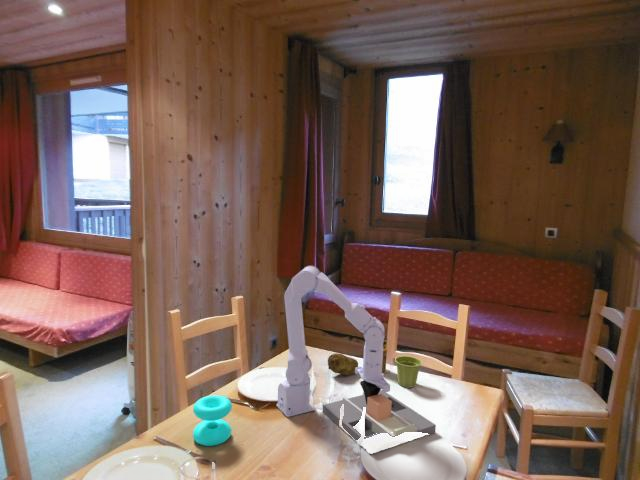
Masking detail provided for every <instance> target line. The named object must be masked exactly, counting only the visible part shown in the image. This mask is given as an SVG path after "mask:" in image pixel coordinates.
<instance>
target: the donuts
mask: <svg viewBox="0 0 640 480" xmlns="http://www.w3.org/2000/svg"><path fill="white" fill-rule="evenodd" d="M232 404H233V403H232V402H231V400H230V398H227V397H226V396H223V395H217V394H216V395H215V394H213V395H207V396H203V397H201V398H199V399H198V400H197V401H196V402H195V403H194V404H193V410H192V411H193V413H194V415H195V416H196V418H198V419H200V420H201V422H199V423H198V424H197V425H196V426H195V427H194V429H193V431H192V437H193V439H194V441H195V442H196V443H197V444H198V445H199V444H200V445H201V446H206V447H213V446H218V445H221V444H223V443H225V442H226V441H227V440H228V439H229V438H230V437H231V435H232V427H231V425H230V424H229V422H228V421H226V420H223V419H224V418H225V417H227V416H228V415H230V413H231V411H232V407H233V405H232Z"/></svg>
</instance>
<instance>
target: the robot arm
mask: <svg viewBox="0 0 640 480" xmlns="http://www.w3.org/2000/svg"><path fill="white" fill-rule="evenodd" d="M313 290H314V291H313ZM311 291H313V292H314V294H324V295H325V296H327V297H328V298H329V299H330V300H331V301H332V302H333V303H335V304H336V305H337V306H338V307H339V308H340V309H342V310H343V311H344V318H345V319H346V320H347V321H348V322H349V323H351V324H352V325H353V326H354V327H355V329H357V330H358V331H359V332H360V333H362V334H363V338H364V346H363V360H362V366H358V367H355V372H354V374H356V375H359V376H360V378H361V379H362V380H360V382H359V384H360V386H361V389H362V392H364V395H365V400H366V404H367V398H368V397H370V396H374V395H378V393H379V392H380V390H383V392H386V393H388V392H391V384H390V383H388V382H387V380H386V379H385V378H384V377H385V374H383V373H382V363H383V340H385V326H384V324H383V323H382V321H381V320H380V319H377V317H376V316H373V315H372V314H370V313H369V312H368V311H367V310H366V306H365V305H364V304H363V303H362V304H360V303H359V302H351V300H350V299H349V298H348V297H347V296H346V295H345V294H344V293H343V291H341V290H340V289H339V287H337V286H336V285H335V284H334V282H333V281H331V279H330V278H329V277H328V276H327V275H326V274H325V273H324V272H322V271H320V270H319V268H318V267H316V266H314V265H307V266H304V268H302V269H301V270H300V271H299V272H298V273H297V274H295V275H294V276H293V277H292V278H291V281H290V282H289V285H288V286H287V289H286V290H285V292H284V294H283V295H284V296H283V297H284V308H285V309H284V310H285V318H286V320H285V321H286V329H287V330H286V331H287V342H288V357H287V368H286V371H285V378H286V380H285V381H283V382H281V383H279V385H278V387H277V403H276V407H277V408H278V409H279V410H280V412H281V413H283V414H284V416H285V417H287V418H289V417H294V416H297V415H300V414H304V413H308V412H313V411H316V410H315V409H316V408H315V407H313V405H311V403H310V397H311V396H310V394H311V393H310V392H311V377H310V375H309V372H310V371H311V369H312V360H311V358H310V356H309V353H308V349H307V348H306V347H307V346H306V339H305V338H306V336H305V327H304V317H303V315H304V314H303V306H302V298H303V297H304V296H305V294H307V293H310V292H311Z"/></svg>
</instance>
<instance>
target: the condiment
mask: <svg viewBox="0 0 640 480" xmlns="http://www.w3.org/2000/svg"><path fill="white" fill-rule="evenodd" d="M387 352H388V348H387V340H386V339H384V340H383V363H382V373H383V374H384V375H385V374H386V373H389V372H390V371H391V370H389V369H387Z"/></svg>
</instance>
